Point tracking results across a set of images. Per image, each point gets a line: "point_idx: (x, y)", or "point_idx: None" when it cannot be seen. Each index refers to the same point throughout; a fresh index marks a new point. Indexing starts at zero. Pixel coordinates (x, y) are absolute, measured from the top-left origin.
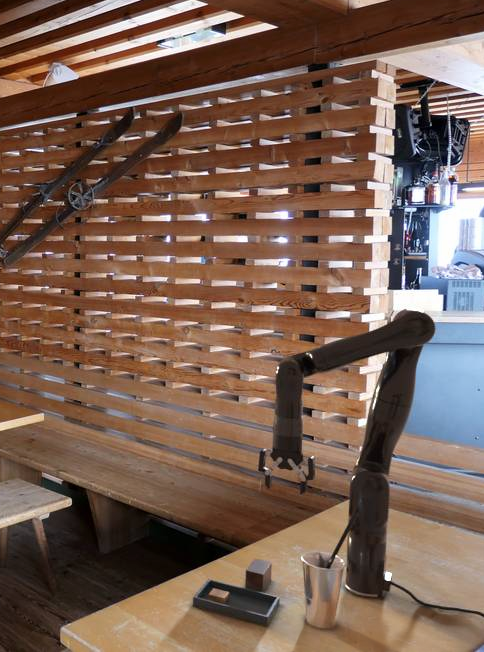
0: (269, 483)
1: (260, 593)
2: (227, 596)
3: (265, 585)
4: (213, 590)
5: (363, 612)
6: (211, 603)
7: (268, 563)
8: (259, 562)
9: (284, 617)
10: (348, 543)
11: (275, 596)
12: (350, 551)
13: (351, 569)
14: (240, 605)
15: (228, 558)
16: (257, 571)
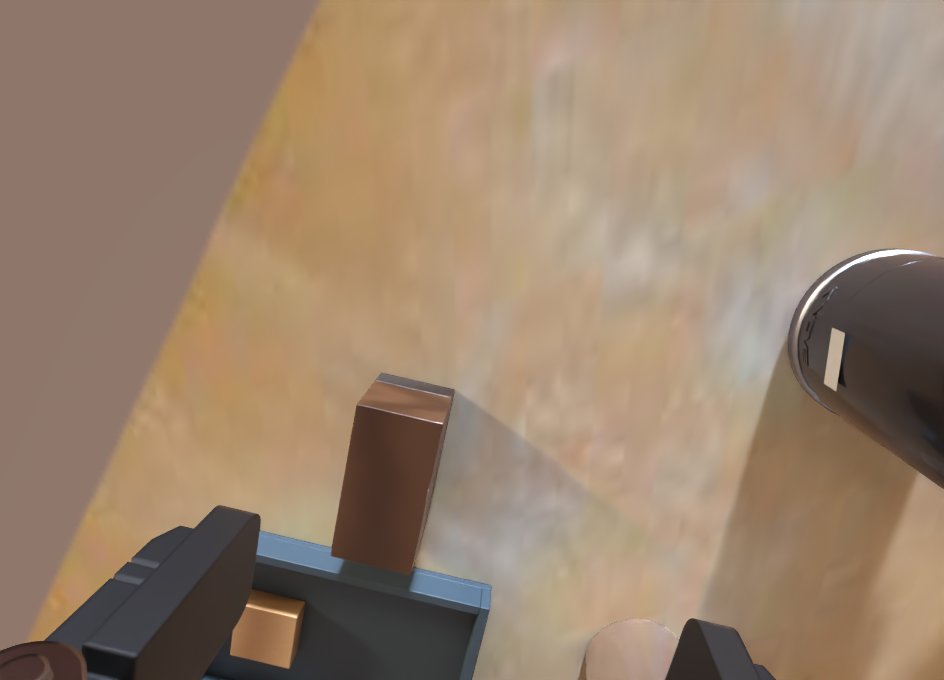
0: (199, 672)
1: (414, 599)
2: (298, 627)
3: (431, 492)
4: (239, 622)
5: (817, 543)
6: None
7: (427, 446)
8: (383, 448)
9: (509, 661)
10: (940, 447)
11: (473, 610)
12: (919, 457)
13: (862, 426)
14: (353, 643)
15: (242, 188)
16: (382, 553)
